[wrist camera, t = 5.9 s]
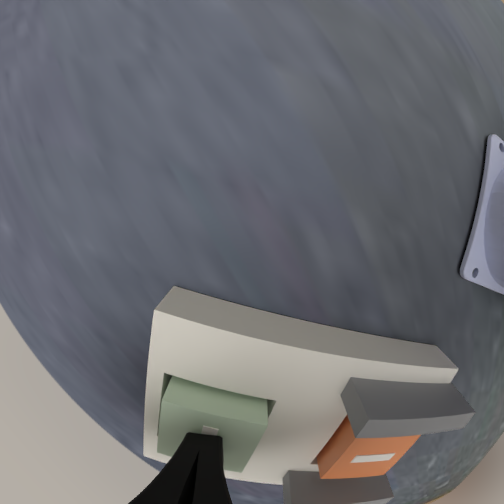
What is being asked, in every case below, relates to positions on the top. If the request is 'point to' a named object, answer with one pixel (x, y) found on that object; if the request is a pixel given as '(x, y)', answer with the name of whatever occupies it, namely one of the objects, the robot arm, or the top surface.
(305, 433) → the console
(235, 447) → the on button
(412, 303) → the top surface
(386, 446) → the button
